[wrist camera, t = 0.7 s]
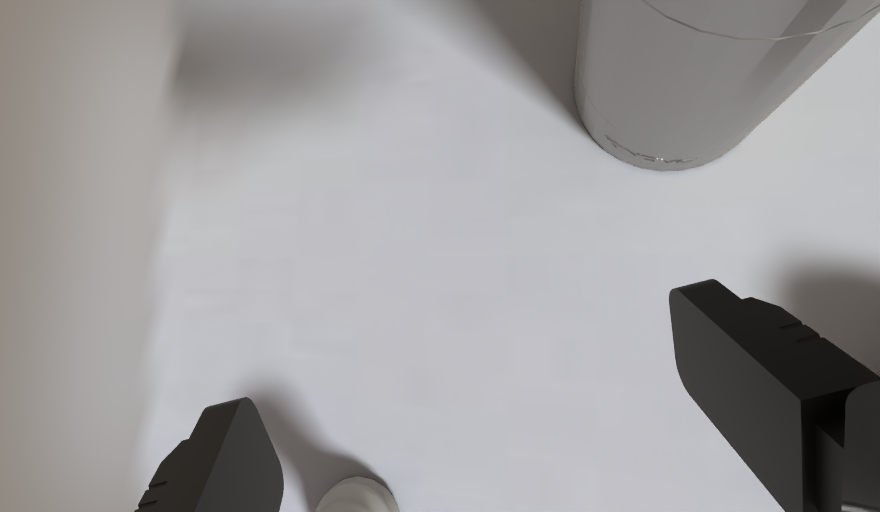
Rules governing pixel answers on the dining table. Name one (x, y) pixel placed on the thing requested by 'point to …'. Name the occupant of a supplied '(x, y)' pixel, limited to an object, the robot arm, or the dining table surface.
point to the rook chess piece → (357, 497)
